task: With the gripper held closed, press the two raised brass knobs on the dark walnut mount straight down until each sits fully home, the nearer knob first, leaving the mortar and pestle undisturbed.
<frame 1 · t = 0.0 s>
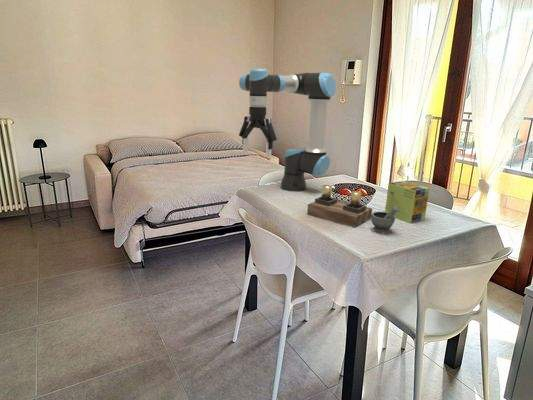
hand: (256, 154, 171), 28 cm above the table, tool pointing down, fingers open, 13 cm apart
knob 2: (355, 197, 170), point 11 cm above the table, slide at 3.0 cm
mortar and pestle: (382, 231, 162), on the table
mount: (338, 216, 178), on the table
protein box: (404, 217, 180), on the table
knob 1: (326, 191, 179), point 11 cm above the table, slide at 3.0 cm
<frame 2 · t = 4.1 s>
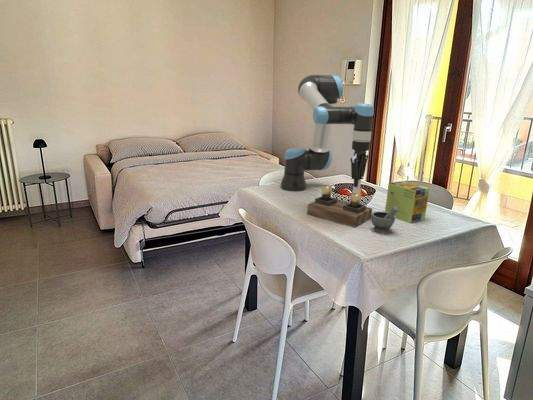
hand: (356, 193, 169), 13 cm above the table, tool pointing down, fingers closed
knob 2: (355, 199, 170), point 10 cm above the table, slide at 2.3 cm, touching gripper
everything else where it was.
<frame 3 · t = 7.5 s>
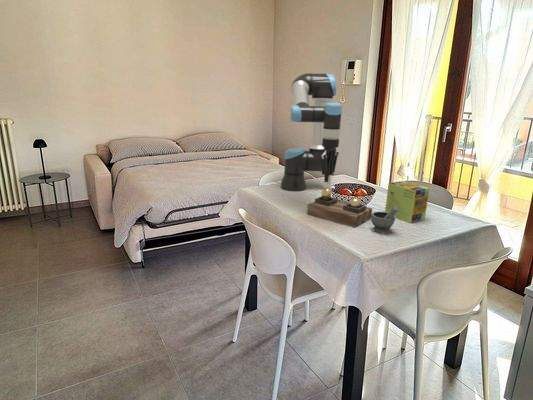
hand: (327, 188, 178), 12 cm above the table, tool pointing down, fingers closed
knob 2: (354, 204, 171), point 8 cm above the table, slide at -0.1 cm
knob 1: (326, 193, 179), point 10 cm above the table, slide at 1.8 cm, touching gripper
everything else where it was.
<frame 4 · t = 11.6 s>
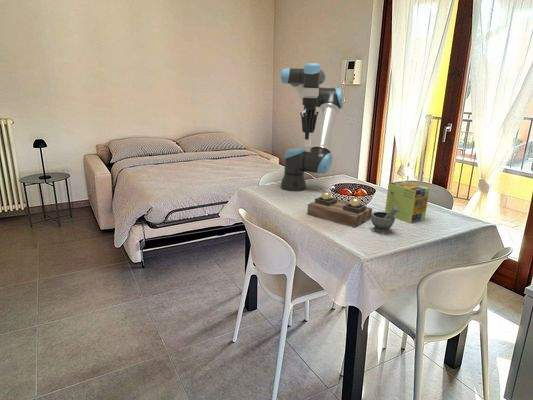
hand: (307, 145, 190), 29 cm above the table, tool pointing down, fingers closed
knob 1: (326, 197, 180), point 8 cm above the table, slide at -0.1 cm
everything else where it was.
at the end: knob 2 slide at -0.1 cm; knob 1 slide at -0.1 cm; mortar and pestle moved 0.2 cm from its start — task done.
